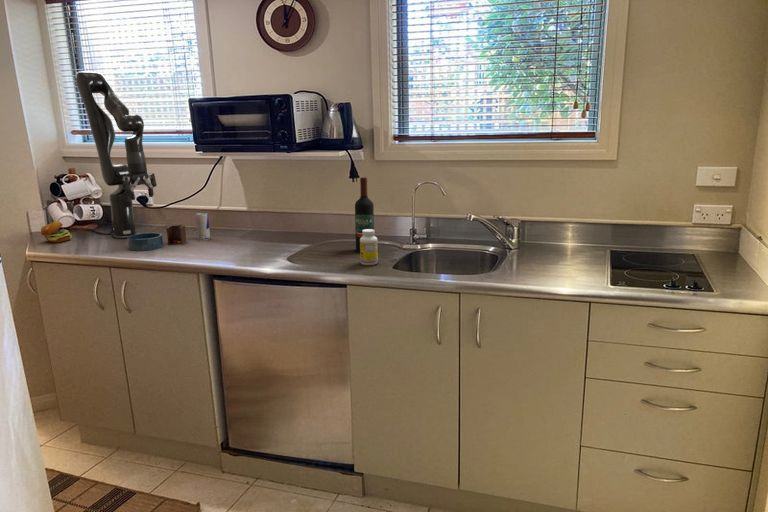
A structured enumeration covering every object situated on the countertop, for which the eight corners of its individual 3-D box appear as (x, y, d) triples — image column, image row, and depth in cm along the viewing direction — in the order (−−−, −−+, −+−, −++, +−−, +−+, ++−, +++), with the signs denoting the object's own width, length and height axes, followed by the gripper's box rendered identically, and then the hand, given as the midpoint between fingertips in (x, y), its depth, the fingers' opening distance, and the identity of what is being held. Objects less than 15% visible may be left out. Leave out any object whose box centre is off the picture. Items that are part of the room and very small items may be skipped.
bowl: (122, 249, 241) (120, 237, 239) (150, 243, 252) (148, 231, 250) (141, 253, 233) (140, 240, 232) (170, 247, 244) (168, 234, 243)
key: (182, 243, 249) (182, 240, 249) (172, 243, 249) (171, 240, 249) (183, 241, 252) (183, 239, 251) (173, 242, 251) (173, 239, 251)
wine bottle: (376, 249, 238) (375, 176, 230) (370, 253, 231) (369, 179, 223) (359, 247, 240) (358, 176, 233) (353, 251, 233) (351, 178, 226)
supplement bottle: (359, 261, 219) (359, 228, 216) (377, 260, 219) (376, 228, 216) (360, 266, 212) (360, 232, 209) (378, 265, 213) (378, 231, 210)
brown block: (182, 245, 247) (180, 227, 245) (168, 246, 247) (166, 227, 245) (186, 242, 253) (184, 224, 251) (172, 242, 252) (171, 225, 250)
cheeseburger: (74, 240, 257) (64, 220, 253) (48, 249, 252) (39, 229, 248) (71, 236, 265) (62, 216, 262) (46, 245, 260) (37, 224, 257)
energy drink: (212, 238, 260) (209, 212, 257) (207, 241, 255) (205, 214, 252) (200, 238, 261) (198, 212, 258) (195, 241, 255) (193, 214, 252)
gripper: (146, 159, 257) (152, 195, 261) (116, 163, 246) (122, 200, 251) (156, 160, 253) (161, 196, 257) (125, 163, 242) (131, 201, 246)
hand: (142, 198), depth 254 cm, fingers open, 8 cm apart
